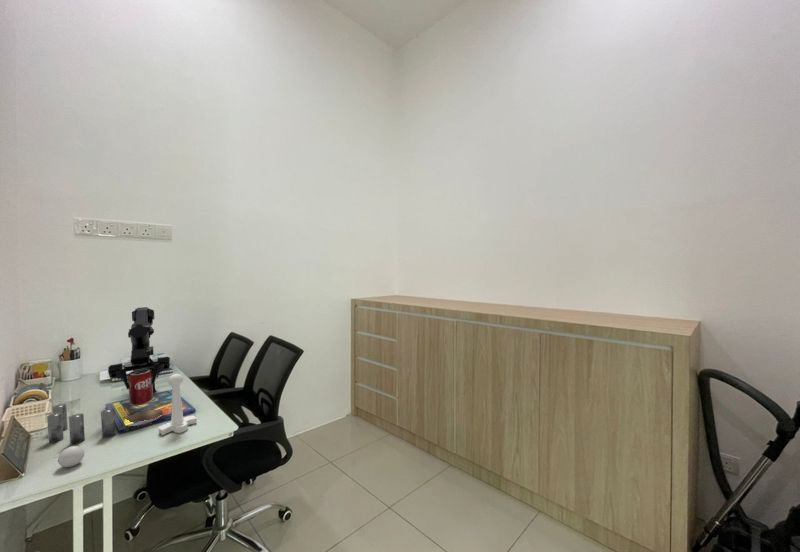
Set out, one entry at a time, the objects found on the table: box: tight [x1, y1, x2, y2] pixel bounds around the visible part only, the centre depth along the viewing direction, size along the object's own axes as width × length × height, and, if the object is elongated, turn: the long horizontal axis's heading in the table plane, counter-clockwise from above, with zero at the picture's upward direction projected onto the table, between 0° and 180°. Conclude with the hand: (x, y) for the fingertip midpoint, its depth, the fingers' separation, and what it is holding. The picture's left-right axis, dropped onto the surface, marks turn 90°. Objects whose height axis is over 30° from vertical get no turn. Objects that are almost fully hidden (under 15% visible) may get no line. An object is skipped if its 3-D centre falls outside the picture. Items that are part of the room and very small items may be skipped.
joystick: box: [158, 373, 198, 436], centre depth 117 cm, size 11×8×20 cm
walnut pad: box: [125, 409, 164, 422], centre depth 125 cm, size 12×12×1 cm
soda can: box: [127, 369, 154, 407], centre depth 124 cm, size 7×7×12 cm
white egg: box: [54, 445, 85, 468], centre depth 96 cm, size 8×6×6 cm
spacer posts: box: [46, 403, 117, 446], centre depth 112 cm, size 9×25×9 cm, turn 79°
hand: (140, 386), depth 123 cm, fingers closed on soda can, 7 cm apart
